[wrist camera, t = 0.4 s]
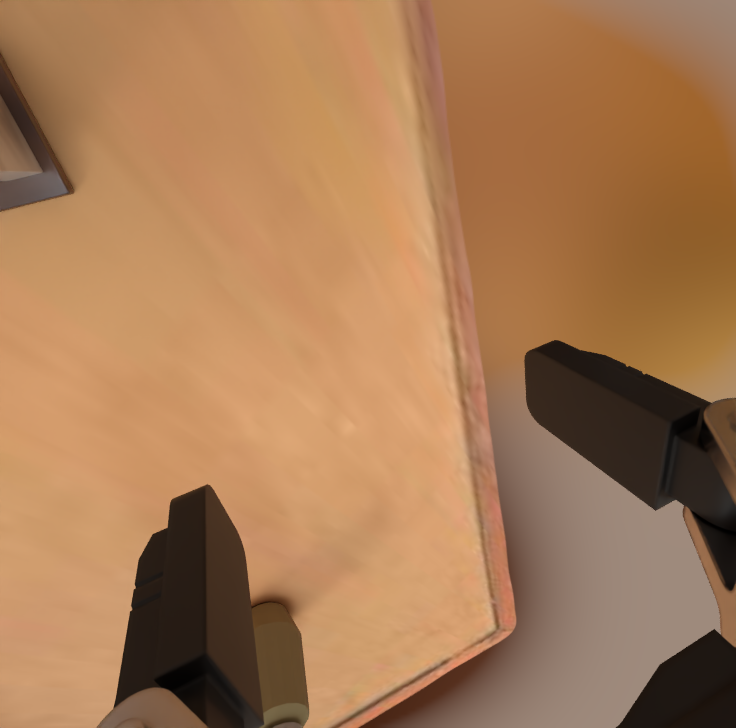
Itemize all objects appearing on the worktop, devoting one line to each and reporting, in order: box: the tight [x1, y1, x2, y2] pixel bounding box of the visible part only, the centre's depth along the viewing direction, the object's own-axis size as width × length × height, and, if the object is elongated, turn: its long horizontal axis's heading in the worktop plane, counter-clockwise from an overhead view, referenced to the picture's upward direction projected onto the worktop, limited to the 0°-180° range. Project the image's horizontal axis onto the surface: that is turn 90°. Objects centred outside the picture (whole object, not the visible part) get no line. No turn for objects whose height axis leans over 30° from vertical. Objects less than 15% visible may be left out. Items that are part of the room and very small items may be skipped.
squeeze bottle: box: [251, 602, 309, 728], centre depth 44 cm, size 8×8×18 cm
